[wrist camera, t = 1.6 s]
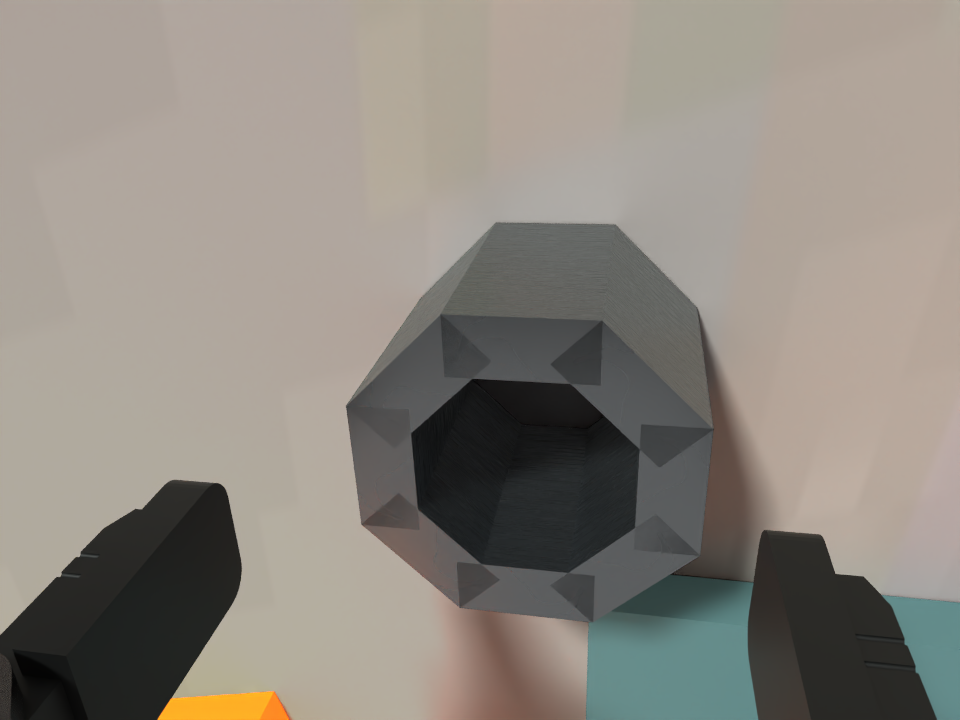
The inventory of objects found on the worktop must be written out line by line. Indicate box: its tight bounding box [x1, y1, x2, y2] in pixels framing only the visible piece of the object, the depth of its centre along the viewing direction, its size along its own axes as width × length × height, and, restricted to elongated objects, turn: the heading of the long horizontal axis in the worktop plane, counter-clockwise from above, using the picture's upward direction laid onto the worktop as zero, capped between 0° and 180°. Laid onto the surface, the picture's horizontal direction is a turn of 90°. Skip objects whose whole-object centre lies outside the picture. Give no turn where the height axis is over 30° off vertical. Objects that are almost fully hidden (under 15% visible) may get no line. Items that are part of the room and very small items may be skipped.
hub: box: [346, 223, 714, 623], centre depth 16 cm, size 6×6×5 cm
